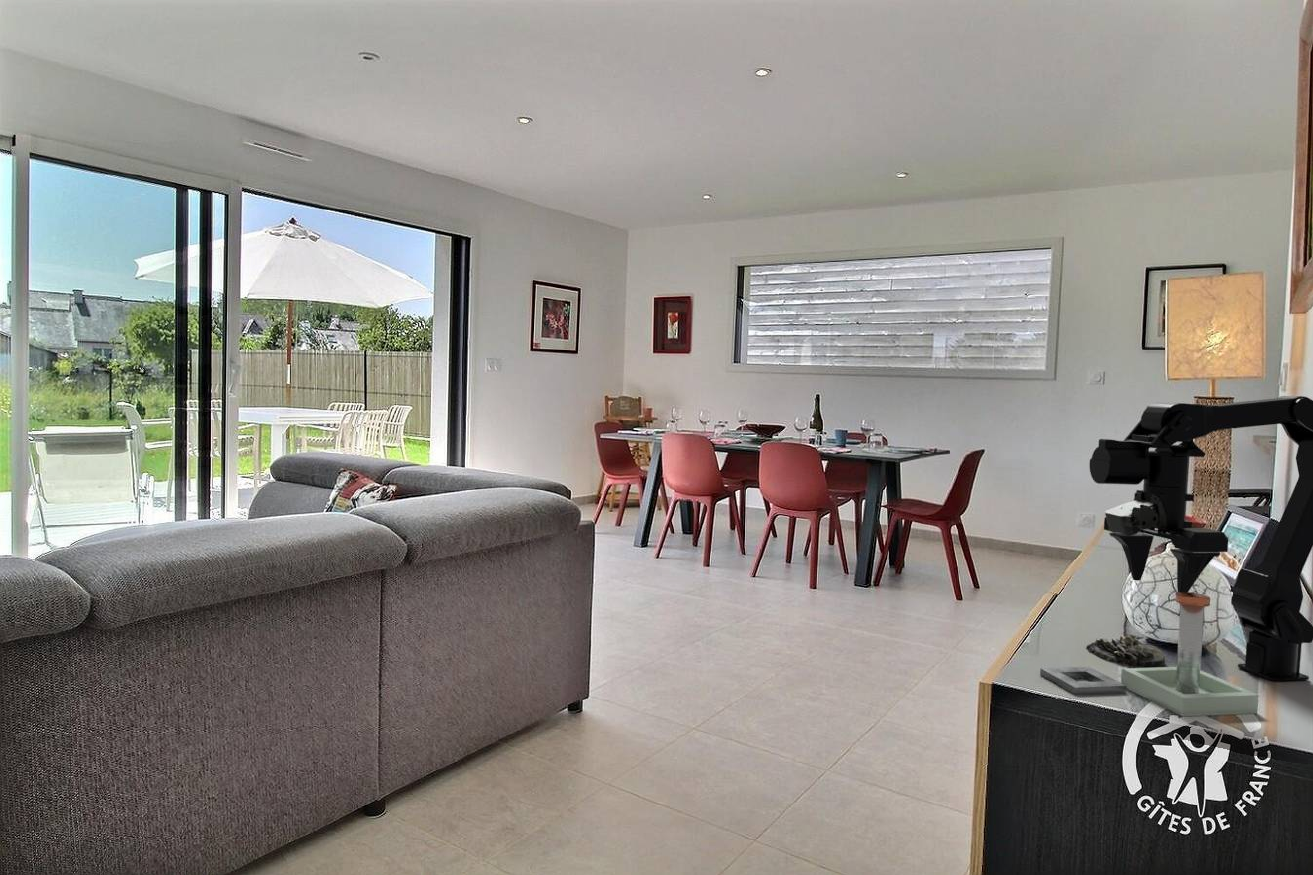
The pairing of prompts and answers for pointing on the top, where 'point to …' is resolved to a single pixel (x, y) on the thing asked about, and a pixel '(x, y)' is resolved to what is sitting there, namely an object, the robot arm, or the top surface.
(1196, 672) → the pin
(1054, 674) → the collar plate
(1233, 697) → the tray
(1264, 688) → the top surface
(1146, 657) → the dark brown textured lump
